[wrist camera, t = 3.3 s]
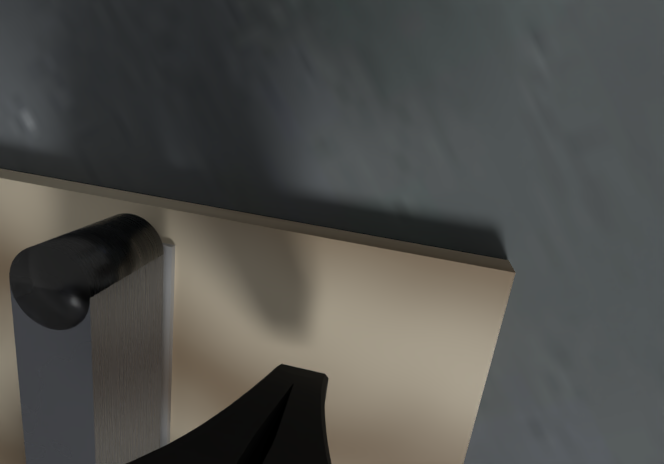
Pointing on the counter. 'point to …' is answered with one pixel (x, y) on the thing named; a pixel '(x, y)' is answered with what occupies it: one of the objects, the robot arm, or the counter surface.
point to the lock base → (287, 319)
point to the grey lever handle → (90, 342)
